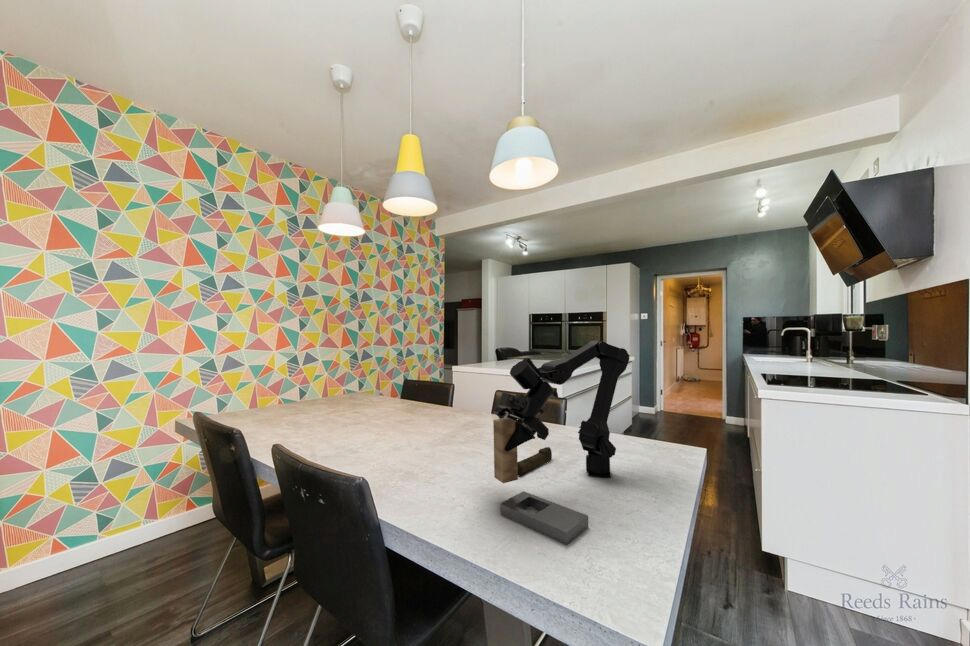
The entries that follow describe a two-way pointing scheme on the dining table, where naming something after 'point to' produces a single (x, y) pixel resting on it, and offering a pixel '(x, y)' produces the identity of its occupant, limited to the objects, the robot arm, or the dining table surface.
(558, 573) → the dining table surface
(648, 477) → the dining table surface
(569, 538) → the grey slotted base plate
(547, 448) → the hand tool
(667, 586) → the dining table surface
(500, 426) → the walnut post
